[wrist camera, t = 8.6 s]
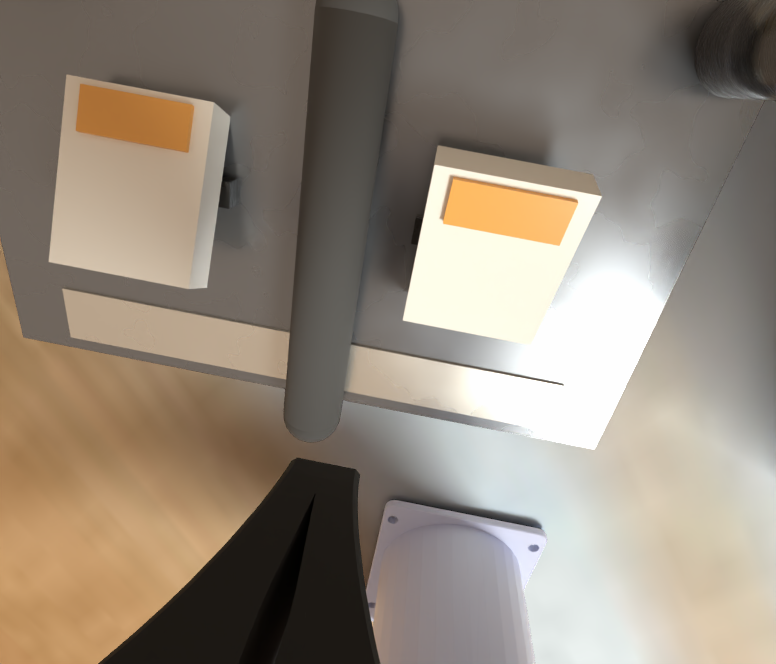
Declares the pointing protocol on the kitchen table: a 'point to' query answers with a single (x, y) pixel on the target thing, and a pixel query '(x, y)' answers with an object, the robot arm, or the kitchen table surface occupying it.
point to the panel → (399, 183)
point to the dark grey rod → (335, 202)
